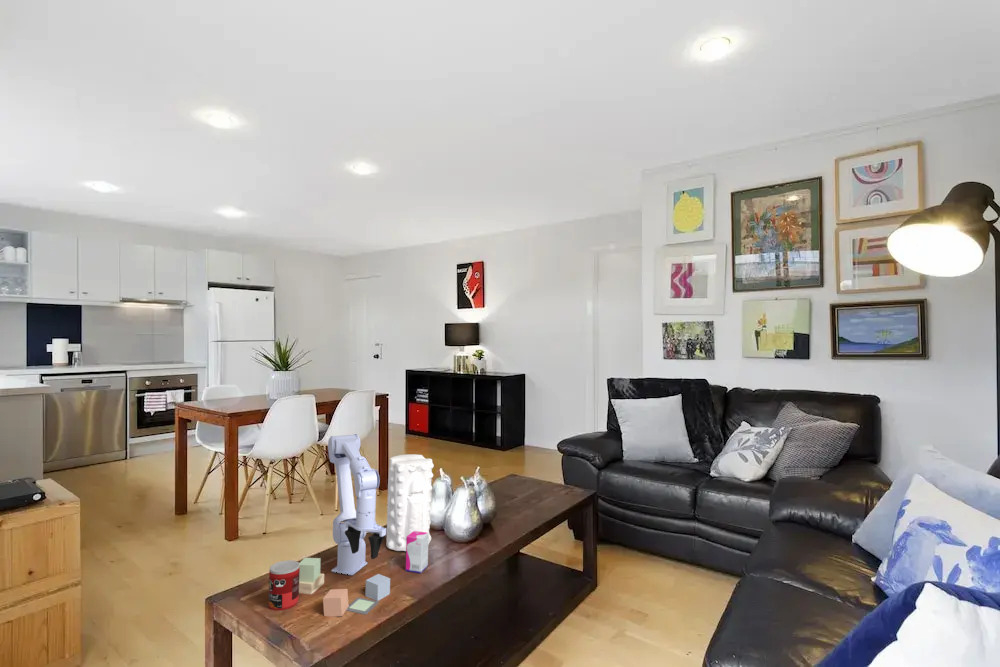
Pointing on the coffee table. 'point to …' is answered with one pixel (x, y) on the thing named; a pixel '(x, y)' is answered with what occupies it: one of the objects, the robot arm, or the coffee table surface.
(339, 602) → the terracotta cube
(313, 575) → the sage cube
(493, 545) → the coffee table surface
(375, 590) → the slate blue cube
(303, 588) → the maple slab
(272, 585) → the canned food
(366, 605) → the tile
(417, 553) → the supplement box
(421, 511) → the vase
